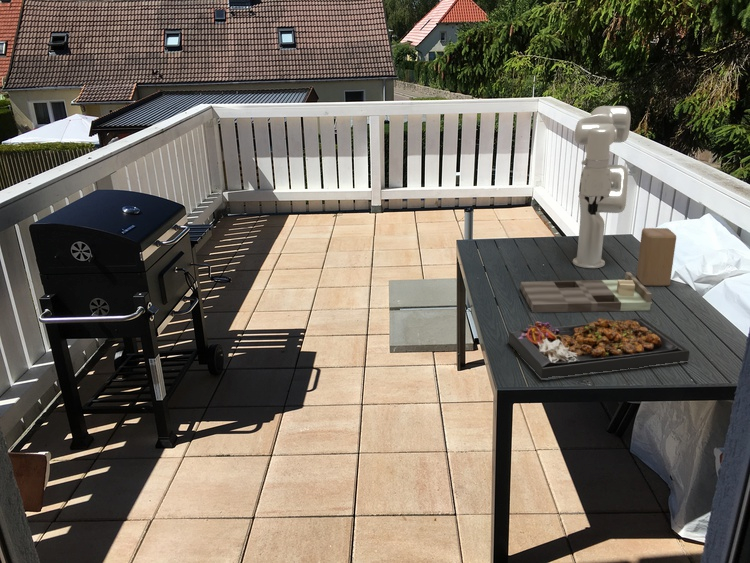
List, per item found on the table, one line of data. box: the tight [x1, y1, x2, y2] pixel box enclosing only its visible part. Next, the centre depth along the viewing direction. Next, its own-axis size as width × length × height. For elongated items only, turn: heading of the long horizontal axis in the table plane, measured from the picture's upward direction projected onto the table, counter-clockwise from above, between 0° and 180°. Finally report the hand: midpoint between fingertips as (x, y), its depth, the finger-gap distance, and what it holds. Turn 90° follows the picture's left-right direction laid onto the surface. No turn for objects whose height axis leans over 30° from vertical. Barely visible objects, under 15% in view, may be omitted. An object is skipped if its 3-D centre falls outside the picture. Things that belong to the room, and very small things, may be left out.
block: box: [636, 227, 677, 287], centre depth 246 cm, size 10×10×20 cm
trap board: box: [520, 271, 653, 313], centre depth 235 cm, size 22×40×6 cm, turn 89°
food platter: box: [507, 313, 690, 378], centre depth 195 cm, size 45×25×10 cm, turn 101°
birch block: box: [617, 279, 635, 296], centre depth 231 cm, size 5×5×4 cm
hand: (592, 213), depth 238 cm, fingers closed
